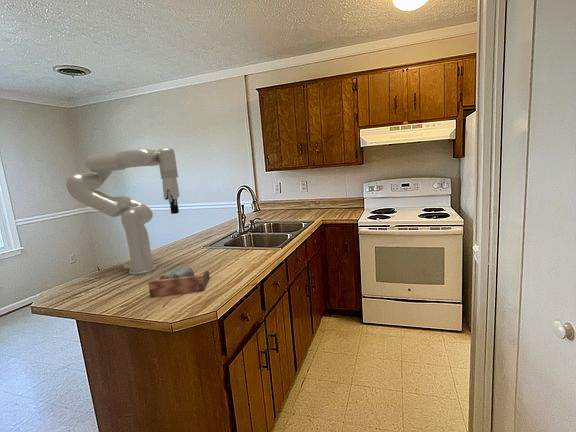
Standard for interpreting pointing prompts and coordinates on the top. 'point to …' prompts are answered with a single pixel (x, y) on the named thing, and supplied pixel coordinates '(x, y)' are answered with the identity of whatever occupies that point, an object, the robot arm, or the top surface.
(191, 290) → the guide channel
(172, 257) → the top surface
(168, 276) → the grey rounded piece
